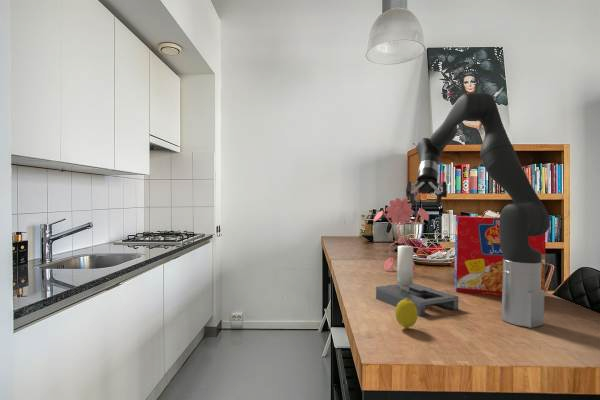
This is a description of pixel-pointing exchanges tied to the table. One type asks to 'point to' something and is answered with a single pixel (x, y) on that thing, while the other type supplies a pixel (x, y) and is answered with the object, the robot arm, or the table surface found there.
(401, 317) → the lemon
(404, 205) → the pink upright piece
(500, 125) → the robot arm
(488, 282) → the pasta box
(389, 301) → the keyhole plate
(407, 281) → the footed peg
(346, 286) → the table surface
